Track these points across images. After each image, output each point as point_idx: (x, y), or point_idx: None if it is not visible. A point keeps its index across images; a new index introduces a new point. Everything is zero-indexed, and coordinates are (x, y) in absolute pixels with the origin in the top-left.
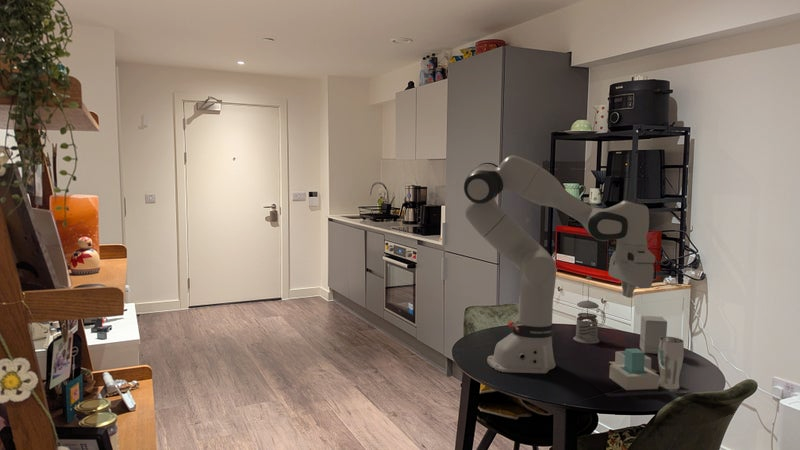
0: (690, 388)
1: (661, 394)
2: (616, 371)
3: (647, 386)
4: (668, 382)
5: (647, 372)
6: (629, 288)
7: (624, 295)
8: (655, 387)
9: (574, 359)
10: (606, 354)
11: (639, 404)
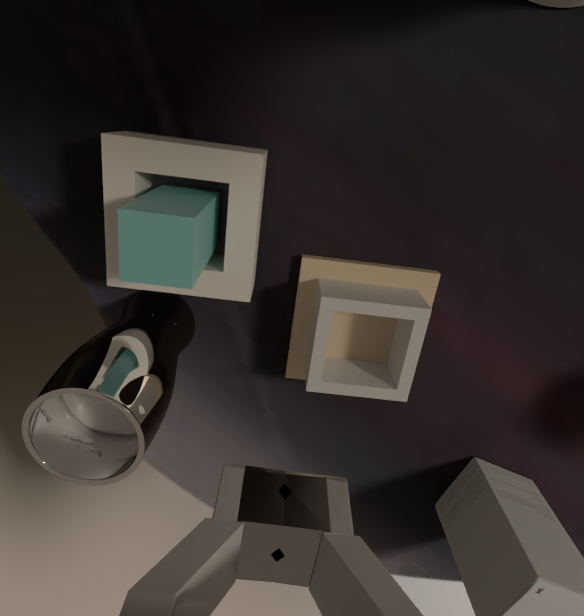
0: None
1: None
2: (201, 145)
3: None
4: (122, 315)
5: None
6: (150, 577)
7: (297, 474)
8: None
9: (546, 158)
10: (536, 334)
11: (14, 106)
